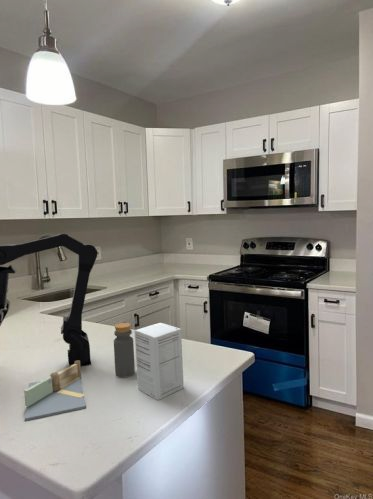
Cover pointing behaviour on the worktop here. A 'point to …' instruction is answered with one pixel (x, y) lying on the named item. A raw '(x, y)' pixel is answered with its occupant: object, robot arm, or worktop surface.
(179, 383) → the supplement box
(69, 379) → the wooden wall with posts
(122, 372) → the bottle
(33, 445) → the worktop surface
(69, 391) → the board
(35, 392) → the fence panel
